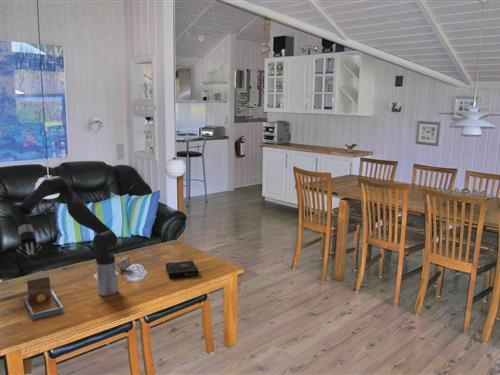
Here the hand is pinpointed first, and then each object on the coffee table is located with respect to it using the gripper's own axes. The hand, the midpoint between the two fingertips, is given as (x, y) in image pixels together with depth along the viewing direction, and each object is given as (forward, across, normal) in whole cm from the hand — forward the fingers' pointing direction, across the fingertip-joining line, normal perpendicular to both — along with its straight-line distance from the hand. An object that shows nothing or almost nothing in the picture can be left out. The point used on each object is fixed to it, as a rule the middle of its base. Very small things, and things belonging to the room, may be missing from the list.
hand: (32, 262), depth 237 cm
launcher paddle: (+22, 0, -1) cm, 22 cm away
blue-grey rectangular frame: (+33, 0, -12) cm, 35 cm away
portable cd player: (+27, +76, -5) cm, 81 cm away
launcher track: (+24, 0, -4) cm, 25 cm away
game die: (+12, +49, +9) cm, 51 cm away
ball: (+23, 0, -5) cm, 24 cm away
